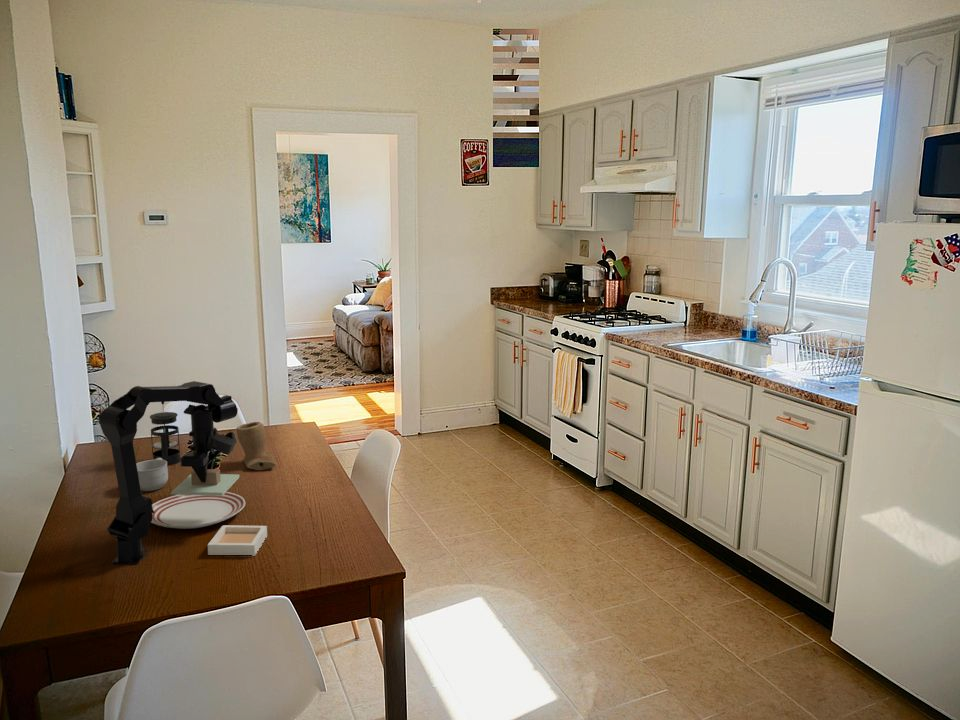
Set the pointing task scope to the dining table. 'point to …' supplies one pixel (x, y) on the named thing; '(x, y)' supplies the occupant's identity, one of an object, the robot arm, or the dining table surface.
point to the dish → (237, 540)
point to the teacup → (152, 474)
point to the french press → (165, 437)
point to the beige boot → (254, 446)
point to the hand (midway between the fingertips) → (205, 480)
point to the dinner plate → (196, 510)
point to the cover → (206, 484)
